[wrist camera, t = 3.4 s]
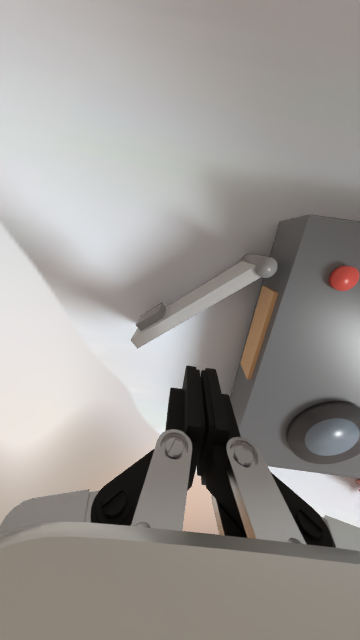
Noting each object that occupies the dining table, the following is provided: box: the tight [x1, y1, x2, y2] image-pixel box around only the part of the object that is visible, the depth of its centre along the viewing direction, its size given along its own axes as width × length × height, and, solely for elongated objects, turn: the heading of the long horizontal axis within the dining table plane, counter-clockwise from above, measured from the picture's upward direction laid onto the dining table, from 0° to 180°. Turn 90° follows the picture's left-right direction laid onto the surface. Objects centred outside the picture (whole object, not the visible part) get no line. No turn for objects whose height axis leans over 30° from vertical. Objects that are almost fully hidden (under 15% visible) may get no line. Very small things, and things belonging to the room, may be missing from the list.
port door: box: [131, 254, 277, 348], centre depth 14 cm, size 2×11×4 cm, turn 123°
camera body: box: [230, 215, 360, 478], centre depth 16 cm, size 12×20×4 cm, turn 173°
